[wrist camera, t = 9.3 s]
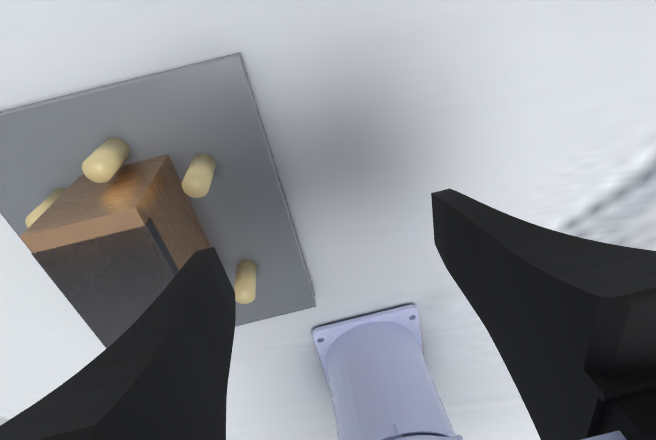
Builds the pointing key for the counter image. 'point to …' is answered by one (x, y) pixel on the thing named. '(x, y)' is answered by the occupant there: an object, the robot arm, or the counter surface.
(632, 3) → the counter surface
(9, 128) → the grey peg board
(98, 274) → the tan wooden block
